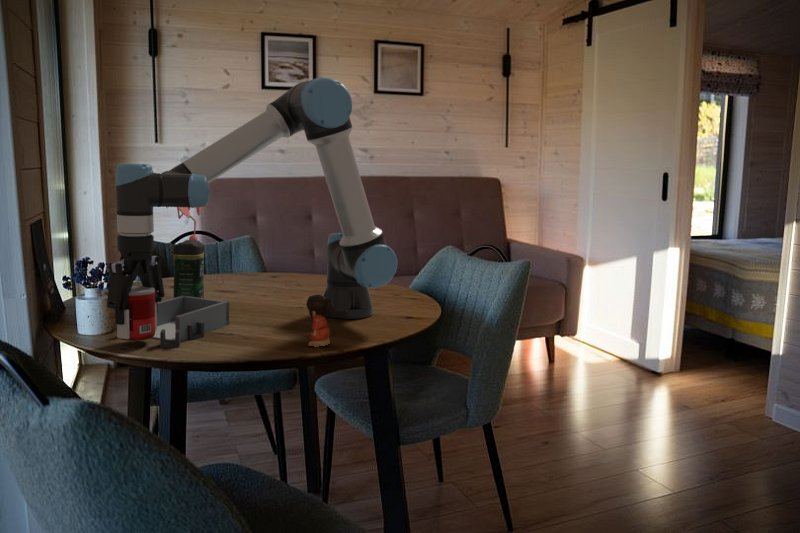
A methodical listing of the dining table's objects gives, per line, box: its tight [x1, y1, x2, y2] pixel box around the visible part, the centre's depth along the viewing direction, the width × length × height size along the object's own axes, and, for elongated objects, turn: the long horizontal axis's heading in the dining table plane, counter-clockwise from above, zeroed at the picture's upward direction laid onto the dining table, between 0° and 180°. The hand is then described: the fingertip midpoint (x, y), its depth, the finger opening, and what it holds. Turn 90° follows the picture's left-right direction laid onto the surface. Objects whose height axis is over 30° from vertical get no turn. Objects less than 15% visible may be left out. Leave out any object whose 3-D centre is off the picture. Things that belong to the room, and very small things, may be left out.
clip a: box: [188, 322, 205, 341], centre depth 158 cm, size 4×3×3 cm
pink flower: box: [176, 204, 225, 286], centre depth 221 cm, size 15×26×35 cm, turn 7°
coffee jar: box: [173, 239, 205, 298], centre depth 191 cm, size 10×8×19 cm
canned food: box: [120, 285, 156, 342], centre depth 150 cm, size 8×8×11 cm
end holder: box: [151, 296, 230, 343], centre depth 164 cm, size 14×19×6 cm
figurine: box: [305, 294, 334, 348], centre depth 156 cm, size 6×6×12 cm
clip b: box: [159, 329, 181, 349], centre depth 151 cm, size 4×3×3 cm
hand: (137, 333), depth 151 cm, fingers closed on canned food, 8 cm apart
